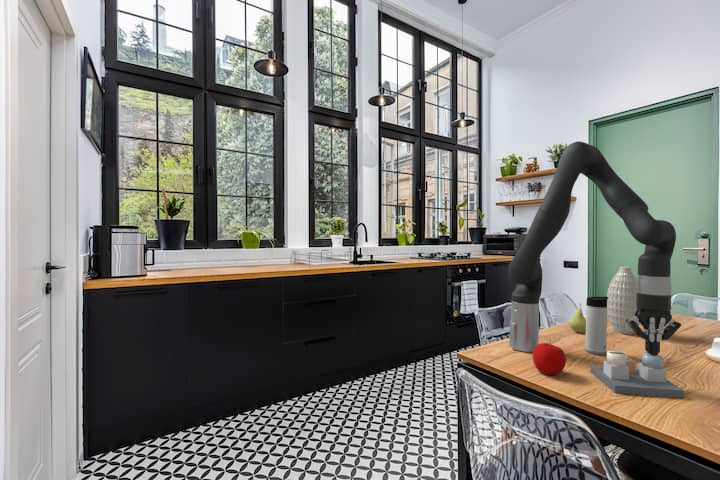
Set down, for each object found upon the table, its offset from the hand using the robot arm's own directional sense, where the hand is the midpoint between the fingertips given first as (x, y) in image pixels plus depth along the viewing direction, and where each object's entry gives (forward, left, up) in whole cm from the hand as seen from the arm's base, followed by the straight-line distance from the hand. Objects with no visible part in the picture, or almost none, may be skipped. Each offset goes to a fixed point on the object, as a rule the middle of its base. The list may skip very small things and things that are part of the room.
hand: (652, 354), depth 100 cm
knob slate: (0, 0, -6) cm, 6 cm away
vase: (+22, +59, -9) cm, 64 cm away
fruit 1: (-25, +5, -9) cm, 27 cm away
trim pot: (-4, +5, -7) cm, 9 cm away
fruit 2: (+3, +56, -9) cm, 57 cm away
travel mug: (-2, +28, -9) cm, 29 cm away
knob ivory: (-9, 0, -7) cm, 11 cm away
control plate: (-5, 0, -9) cm, 10 cm away
